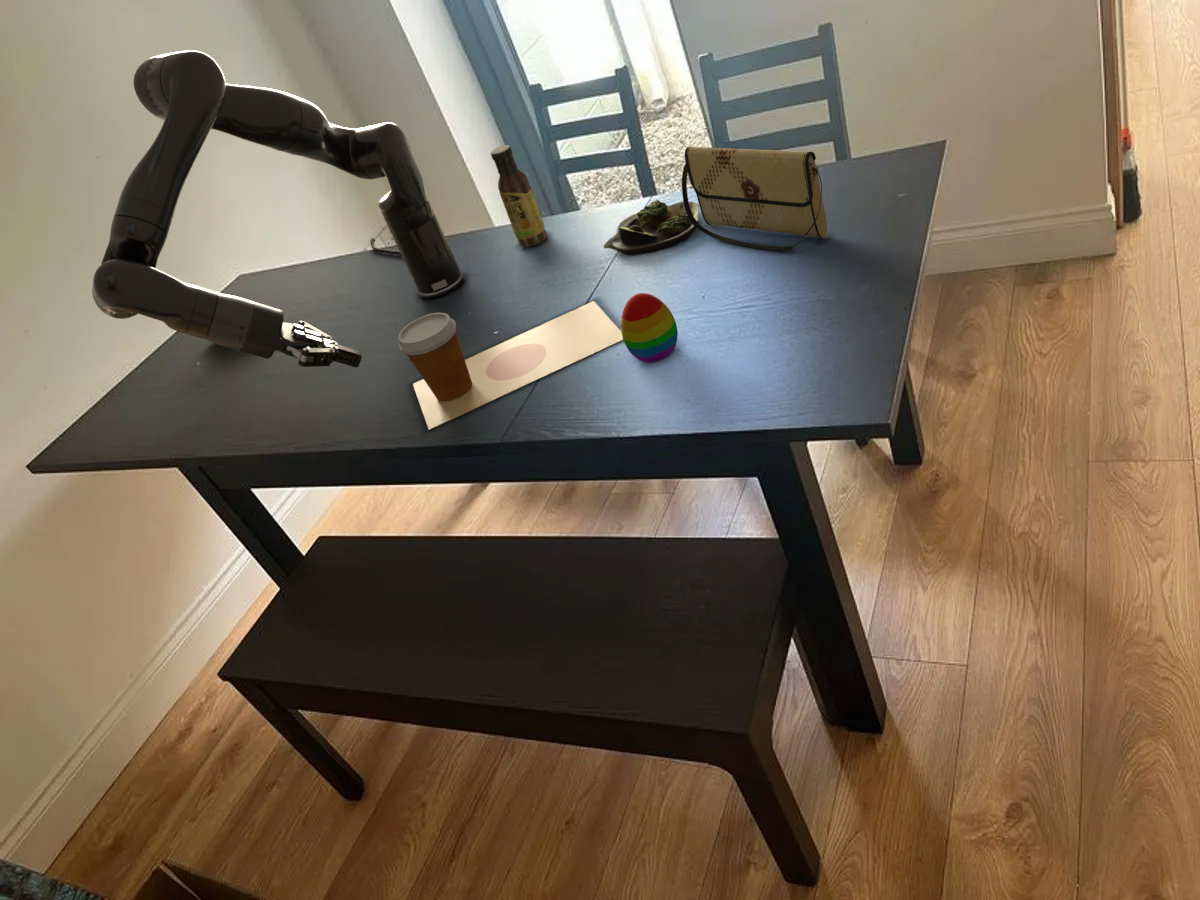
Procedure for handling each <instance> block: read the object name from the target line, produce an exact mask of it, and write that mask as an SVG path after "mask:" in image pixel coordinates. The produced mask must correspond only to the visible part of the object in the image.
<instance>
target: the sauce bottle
mask: <svg viewBox="0 0 1200 900" xmlns="http://www.w3.org/2000/svg"><path fill="white" fill-rule="evenodd" d="M490 155H491V159H492V160H493V162H494V164H495V168H496V170H497V173H498V175H499V177H498V180H497V188H498V191H499V196H500V198H501V201H502V204H503V207H504V209H505V211H506V214H507V217H508V219H509V222H510V225H511V228H512V231H513V233H514V236H515V238H516V239H517V242H518V244H519V245H520V246H521V247H523V248H530V247H535V246H537V245H539V244H541V243H543V242H544V241H545V240H546V239H547V237H548V232H547V231H546V229H545V228H546V226H545V224H544V221H543V218H542V215H541V213H540V210H539V206H538V203H537V201H536V198H535V196H534V195H535V194H534V192H533V190H532V187H531V185H530V183H529V180H528V177H527V175H526V174H525V173H524V172H522V171H521V170H520V169H519V168H518V165H517V164H516V161H515V158H514V156H513V150H512V147H511V145H510V144H506V145H505V144H504V145H500V146H498V147H495V148H494V149H492V150H491V151H490Z"/></svg>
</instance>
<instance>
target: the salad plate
mask: <svg viewBox="0 0 1200 900" xmlns="http://www.w3.org/2000/svg"><path fill="white" fill-rule="evenodd" d="M688 201H689V200H688ZM689 205H690V209H691V212H692V214H693V216H694V218H695V220H696V221H697V222H698V223H699V224H700V220H699V217H700V206H699V203H698V202H695V201H689ZM696 230H697V228H696V227H695V226H694V225H693V224H692V223H691V221H690V219H689V217H688V215H687V213H686V210H685V206H684V202H683V201H680V202H676V203H673V204H669V205H667V204H666V203H665V201H663V202H662V201H661V200H659V199H655V200H653V201H651V202H650V203H649V204H648V205H645V206H644V207H643V208H642V209H640V210H639V211H638V212H636V213H633V214H631V215H630V216H628V217H626V218H624V219H623V220H621V221H620V222H619V224H618V226H617V227H616V230H615V234H614V235H613V236H612V237H610V238H609V239H608V240H607V241H606V242H605V243H604V245H603V248H604V249H610V250H614V251H617V252H618V253H620V254H622V255H624V256H625V255H626V256H639V255H643V254H644V255H645V254H649V253H650V254H651V253H655V252H660V251H664V250H667V249H670V248H673V247H675V246H678V245H680V244H682V243H684V242H686V241H687V240H689V238H691V236H693V234H694V233H695V231H696Z"/></svg>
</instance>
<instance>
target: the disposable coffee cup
mask: <svg viewBox="0 0 1200 900" xmlns="http://www.w3.org/2000/svg"><path fill="white" fill-rule="evenodd" d="M397 339H398V349H400V351H401V352H403V353H404V354H405V355H406V356H407V357H408V359H409V360H410V361H411V363H412V364H413V366H414V367H415V369H416V370H417V372H418V373H419V375H420V376H421V378H422V379H424V381H425V382H426V383H427V385H428V386H429V388H430V389H431V391H432V392H433V394H434V395H435V396H436V398H437V400H439V401H450V400H453V399H456V398H458V397H460V396H462V395H464V394H465V393H466V392H467V391H468V390H469V389H470V388H471V386H472V381H471V378H470V375H469V371H468V368H467V365H466V362H465V360H466V359H465V356H464V353H463V349H462V346H461V343H460V340H459V337H458V334H457V323H456V321H455V320H454V319H453V318H451V316H449V314H447V312H446V313H445V312H434V313H429V314H425V315H423V316H419V317H418V318H416V319H414V320H413V321H411V322H408V324H407V325H405V326H404V327H403V328H402V329H401V330H400V332H399V334H398V337H397Z"/></svg>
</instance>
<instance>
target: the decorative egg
mask: <svg viewBox="0 0 1200 900" xmlns="http://www.w3.org/2000/svg"><path fill="white" fill-rule="evenodd" d="M620 331H621V332H622V337H623V340H622V341H623V344H624V345H625V347H626V349H627V350H628V352H629V353H630V354H631V355H632V356H633V357H634V358H635V359H637V360H639V362H643V363H648V364H649V363H650V364H651V363H656V362H659V361H662V360H665V359H666V358H668V357H669V356H671V355H672V354H673V352H674V350H675V348H676V346H677V343H678V338H679V337H678V335H679V334H678V331H679V330H678V325H677V322H676V319H675V317H674V315H673V313H672V311H671V309H670V308H669V307H668V306H667V305H666V303H664V302H663V301H662V300H661V299H660V298H658V297H657V296H655V295H652V294H650V293H646V292H639V293H636V294H634V295H633V296H631V297H630V298H629V299H628V300H627V301H626V303H625V305H624V307H623V310H622V314H621V319H620Z"/></svg>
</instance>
